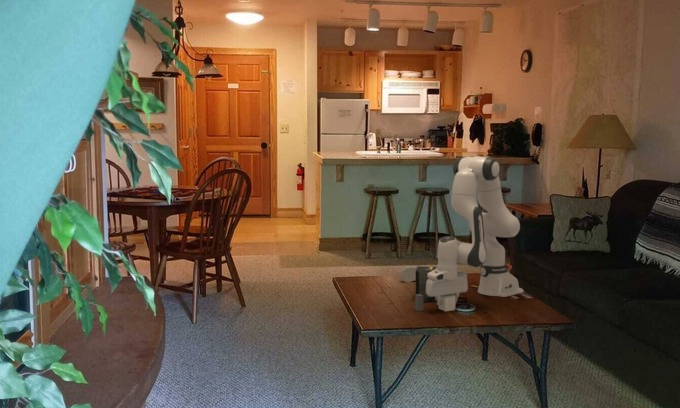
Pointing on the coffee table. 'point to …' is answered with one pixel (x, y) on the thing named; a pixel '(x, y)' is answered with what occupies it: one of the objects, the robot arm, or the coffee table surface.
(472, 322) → the coffee table surface
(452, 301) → the white block
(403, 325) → the coffee table surface
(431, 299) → the tampon box
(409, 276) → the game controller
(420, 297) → the post
